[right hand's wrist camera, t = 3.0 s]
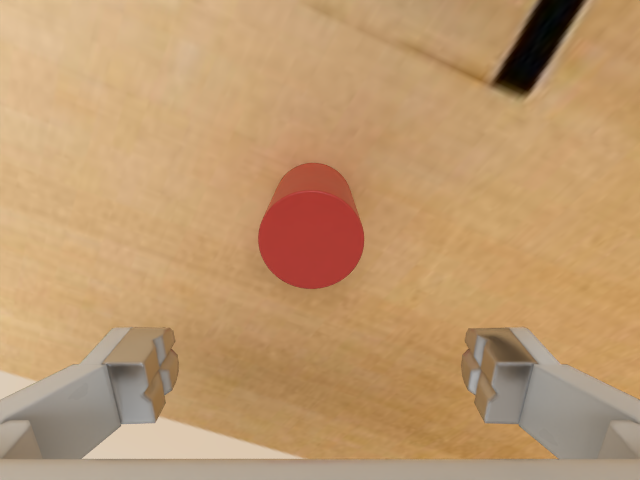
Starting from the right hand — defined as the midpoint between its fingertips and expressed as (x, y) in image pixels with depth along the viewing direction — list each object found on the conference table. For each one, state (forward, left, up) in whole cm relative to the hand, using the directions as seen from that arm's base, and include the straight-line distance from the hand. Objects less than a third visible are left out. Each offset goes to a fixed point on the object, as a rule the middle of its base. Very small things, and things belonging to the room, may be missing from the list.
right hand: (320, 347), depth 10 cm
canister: (0, 0, -16) cm, 16 cm away
